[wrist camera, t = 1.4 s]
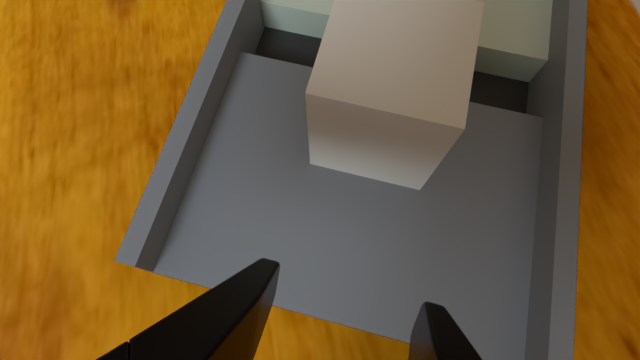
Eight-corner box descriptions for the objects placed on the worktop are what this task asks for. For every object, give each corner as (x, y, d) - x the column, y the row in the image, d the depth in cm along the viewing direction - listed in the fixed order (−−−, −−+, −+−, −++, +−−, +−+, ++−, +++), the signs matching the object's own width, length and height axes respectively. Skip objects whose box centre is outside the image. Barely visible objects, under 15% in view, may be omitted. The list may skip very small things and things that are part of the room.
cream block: (419, 190, 21) (464, 128, 14) (310, 163, 21) (305, 93, 15) (437, 94, 23) (484, 2, 16) (336, 72, 23) (342, -26, 17)
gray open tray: (519, 374, 20) (579, 389, 16) (154, 273, 22) (108, 259, 17) (551, -16, 29) (596, -82, 24) (287, -66, 31) (281, -136, 26)
